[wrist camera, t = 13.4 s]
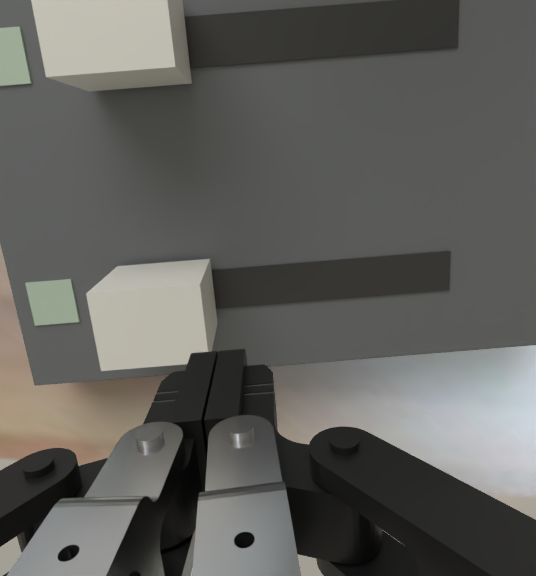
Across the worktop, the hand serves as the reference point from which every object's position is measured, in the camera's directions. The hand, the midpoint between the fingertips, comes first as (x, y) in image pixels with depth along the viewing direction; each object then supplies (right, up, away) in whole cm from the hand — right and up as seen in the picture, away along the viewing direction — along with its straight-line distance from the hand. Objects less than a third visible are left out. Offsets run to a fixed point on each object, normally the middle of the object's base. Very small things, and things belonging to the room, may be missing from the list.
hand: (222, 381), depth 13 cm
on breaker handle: (-4, +12, +5) cm, 13 cm away
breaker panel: (+2, +8, +10) cm, 13 cm away
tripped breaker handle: (-3, +2, +8) cm, 9 cm away
